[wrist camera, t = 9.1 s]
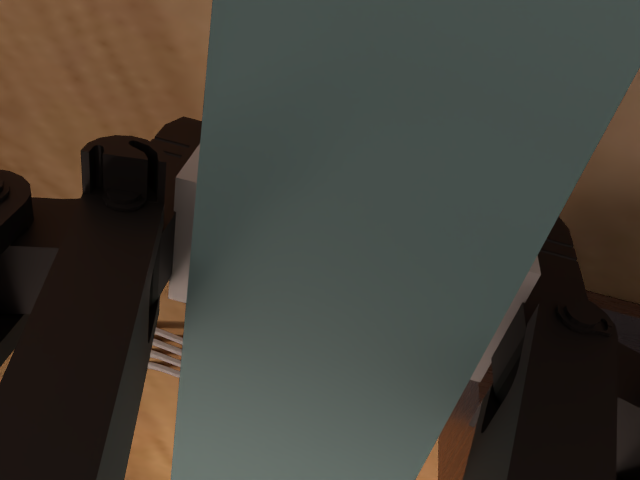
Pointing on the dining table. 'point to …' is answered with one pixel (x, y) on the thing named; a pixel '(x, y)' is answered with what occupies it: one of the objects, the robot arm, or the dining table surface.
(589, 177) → the dining table surface
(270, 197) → the rail
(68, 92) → the dining table surface
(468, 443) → the stand
